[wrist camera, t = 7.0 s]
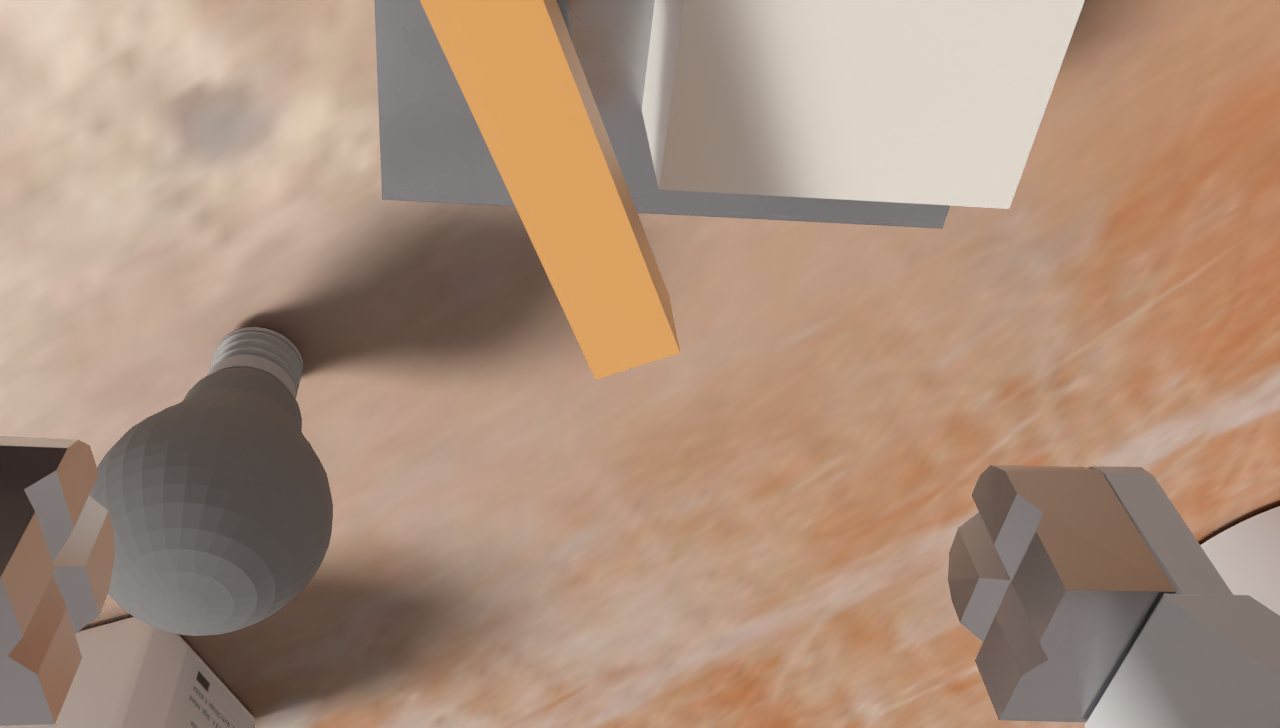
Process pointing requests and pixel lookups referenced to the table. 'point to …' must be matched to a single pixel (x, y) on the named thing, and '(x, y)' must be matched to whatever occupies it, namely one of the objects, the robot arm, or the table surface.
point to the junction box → (615, 71)
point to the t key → (560, 173)
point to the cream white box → (852, 96)
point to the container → (144, 683)
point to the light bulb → (219, 496)
